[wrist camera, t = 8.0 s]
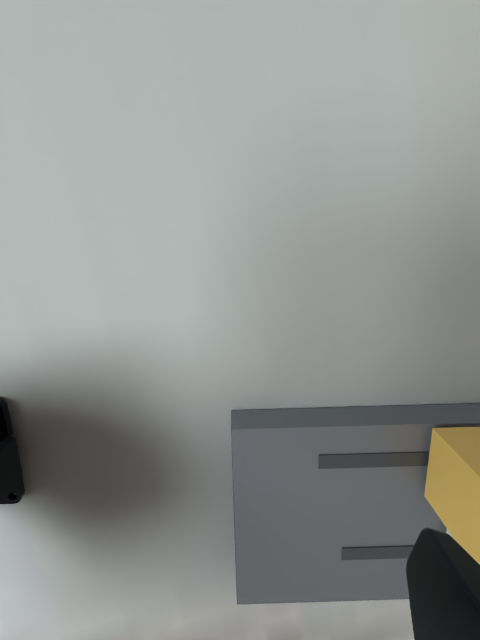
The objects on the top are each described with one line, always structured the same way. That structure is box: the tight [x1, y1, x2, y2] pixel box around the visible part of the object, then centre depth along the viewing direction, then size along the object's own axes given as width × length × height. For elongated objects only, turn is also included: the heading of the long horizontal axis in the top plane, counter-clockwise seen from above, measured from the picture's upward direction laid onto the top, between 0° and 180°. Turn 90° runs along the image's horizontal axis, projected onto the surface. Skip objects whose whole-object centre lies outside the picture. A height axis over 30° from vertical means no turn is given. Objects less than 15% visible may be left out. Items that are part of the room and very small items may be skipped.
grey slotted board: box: [231, 403, 480, 604], centre depth 21 cm, size 16×12×2 cm
